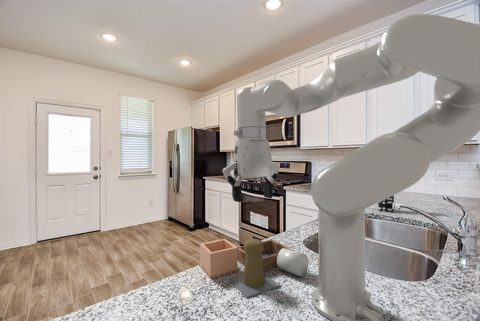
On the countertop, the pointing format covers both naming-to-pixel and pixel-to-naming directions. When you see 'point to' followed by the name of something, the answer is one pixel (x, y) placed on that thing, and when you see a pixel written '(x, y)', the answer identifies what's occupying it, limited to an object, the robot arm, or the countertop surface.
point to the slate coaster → (251, 291)
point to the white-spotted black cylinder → (386, 205)
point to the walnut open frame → (268, 246)
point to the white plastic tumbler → (292, 262)
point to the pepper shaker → (253, 264)
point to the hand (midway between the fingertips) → (253, 199)
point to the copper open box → (218, 258)
